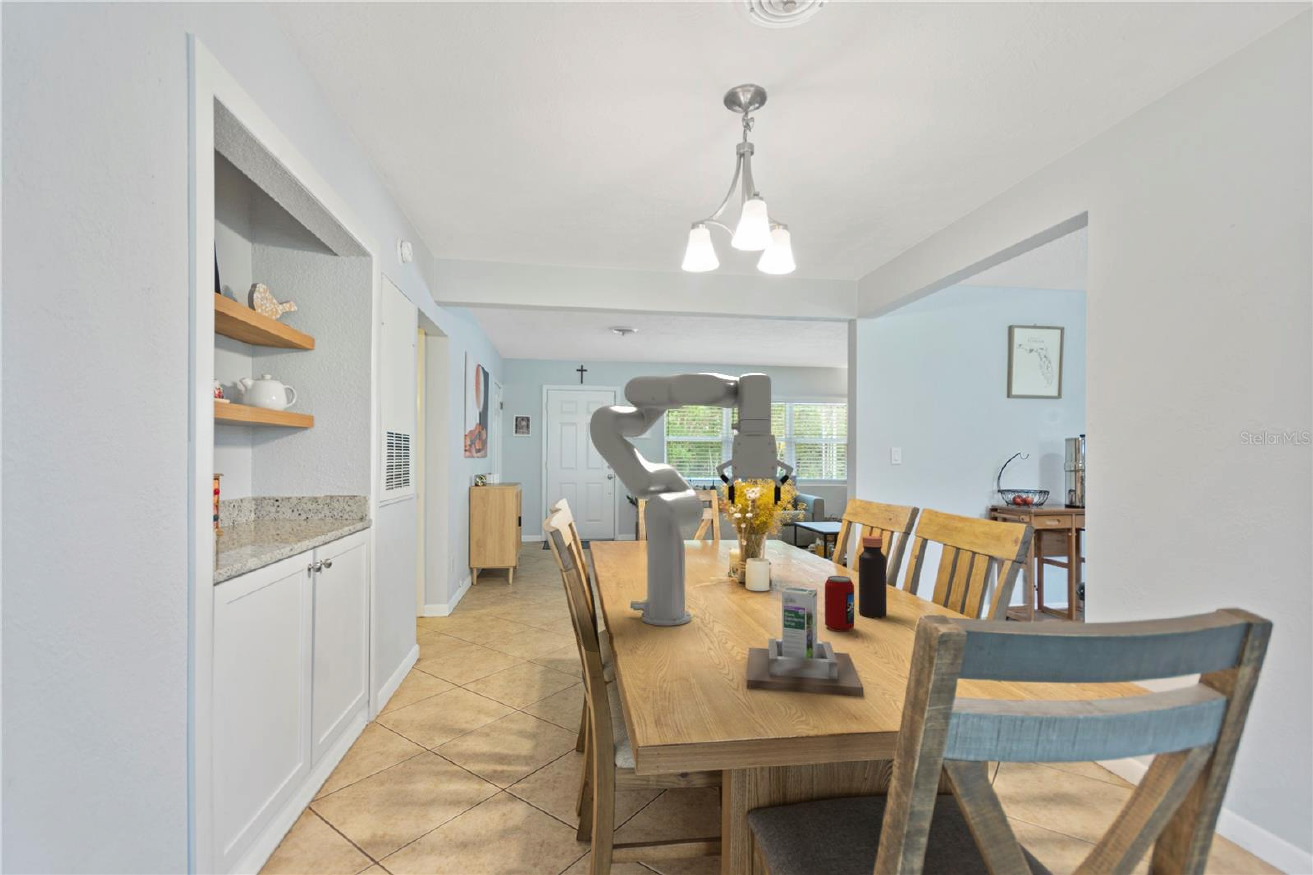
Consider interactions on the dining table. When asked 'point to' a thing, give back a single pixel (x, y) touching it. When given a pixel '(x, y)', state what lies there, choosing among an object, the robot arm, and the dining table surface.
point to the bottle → (872, 578)
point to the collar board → (803, 671)
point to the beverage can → (839, 603)
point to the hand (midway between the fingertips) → (754, 504)
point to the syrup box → (799, 622)
